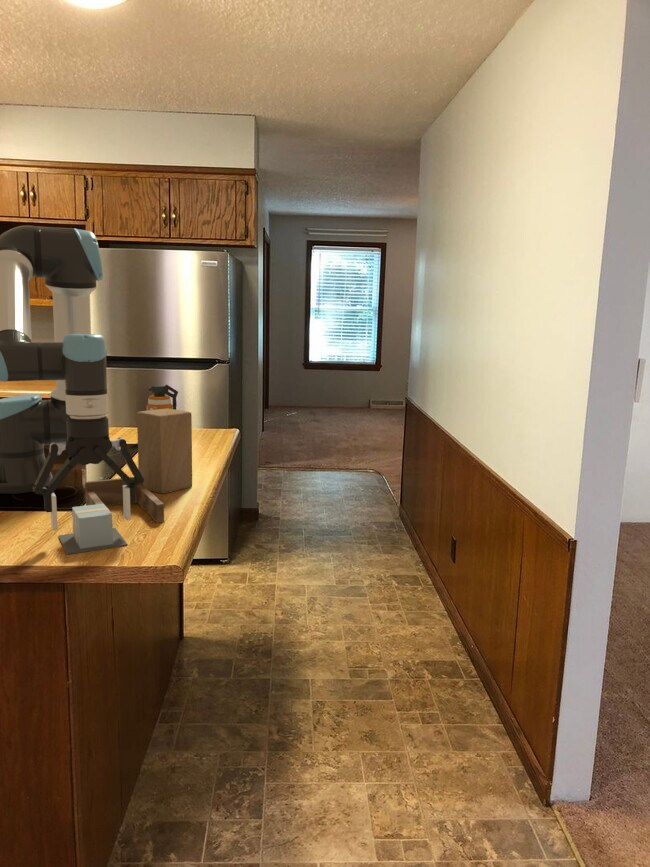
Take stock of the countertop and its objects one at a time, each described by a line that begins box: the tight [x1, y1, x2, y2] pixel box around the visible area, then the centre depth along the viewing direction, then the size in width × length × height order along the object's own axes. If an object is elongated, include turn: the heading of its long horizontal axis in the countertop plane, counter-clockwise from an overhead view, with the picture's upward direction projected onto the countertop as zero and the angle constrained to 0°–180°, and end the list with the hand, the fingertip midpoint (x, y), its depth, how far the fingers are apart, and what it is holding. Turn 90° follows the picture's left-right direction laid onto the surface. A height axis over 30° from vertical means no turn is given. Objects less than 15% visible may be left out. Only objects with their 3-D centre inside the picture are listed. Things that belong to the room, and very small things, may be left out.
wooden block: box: [136, 408, 193, 495], centre depth 165 cm, size 10×10×20 cm
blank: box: [71, 504, 114, 549], centre depth 124 cm, size 8×6×6 cm
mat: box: [58, 527, 128, 555], centre depth 125 cm, size 11×11×1 cm
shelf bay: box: [84, 476, 165, 523], centre depth 142 cm, size 18×13×6 cm
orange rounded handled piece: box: [146, 384, 179, 411], centre depth 229 cm, size 9×11×20 cm
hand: (91, 523), depth 125 cm, fingers open, 13 cm apart
